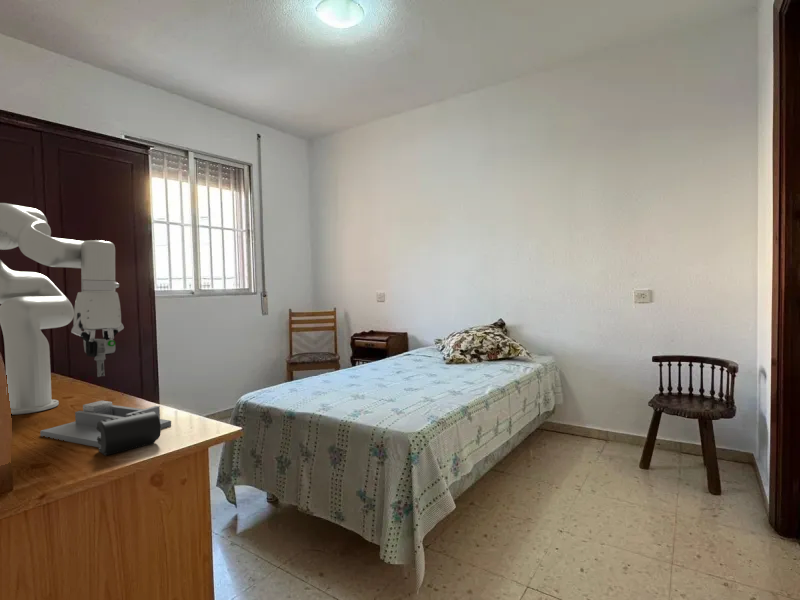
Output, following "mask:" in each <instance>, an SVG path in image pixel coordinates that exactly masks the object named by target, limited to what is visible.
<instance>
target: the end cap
mask: <svg viewBox="0 0 800 600" xmlns="http://www.w3.org/2000/svg"><path fill="white" fill-rule="evenodd" d="M96 429H97V430H98V431H99V432H101V436H98V438H97V440H98V444H100V445H101V448H99V447H98V452H99V453H101V454H102V455H103V456H109V455H114V454H117V453H120V452H124V451H128V450H133V449H136V448H140V447H144V446H147V445H152V444H155V442H156V441H157V440H159V438H160V436H161V431H162V429H161V425H160V420H159V417H158V415H157V413H156V412H154V411H153V412H149V413H144V412H139V413H136V414H134V413H133V414H131V415H130V417H125V418H120V419H115V418H110V419H107V420H102V421H99V422H98V423H97V428H96Z"/></svg>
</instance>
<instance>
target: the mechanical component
mask: <svg viewBox="0 0 800 600" xmlns="http://www.w3.org/2000/svg"><path fill="white" fill-rule="evenodd" d="M82 340H83V339H82ZM94 342H97V356H96V357H94V361H96V369H97V370H96V374H97V378H100V377H105V376H106V375H105V360H106V359H107V358H106V355H105V354H108V353H111V354H114V353H115V352H116V341H115V340H114V339H113V340H106V339H103V338H95V340H94ZM83 349H84V353H85V354H86V355H87V353H86V341H84V340H83Z"/></svg>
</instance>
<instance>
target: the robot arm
mask: <svg viewBox="0 0 800 600" xmlns="http://www.w3.org/2000/svg"><path fill="white" fill-rule="evenodd" d="M51 235H52V230H51V227H50V224H48V219H47V217H46V215H45V214H44V213H43V212H42V211H41V210H39V209H37V208H34V207H29V206H24V205H18V204H14V203H13V204H12V203H7V202H0V250H1V251H2V250H3V251H4V250H5V251H6V250H12V249H15V248H17V247H18V248H19V250H20V252H21V253H22V254H23V255H24V256H25V257H27V258H29V259H31V260H33V261H35V262H36V263H39V264H41V265H43V266H46V267H51V268H71V269H80V270H81V273H80V275H81V276H80V279H81V280H80V281H81V291H79V292H77V295H76V296H75V297H76V298H75V302H74V306H73V304H72V302H71V301H70V300H69V298H68V297H67V295H65V294H64V293H63V292H62V290H60V289H59V288H58V287H57V285H55V283H54V282H53V281H52V280H51V279H50V278H49V277H48V276H46V275H44V274H42V273H39V272H36V271H26V270H25V271H23V270H22V271H19V270H13V269H11V268H9V267H8V266H7V265H6V264H5V263H4V262H3V260H1V259H0V327H1V331H2V335H3V344H4V359H5V360H4V361H5V376H6V375H7V384H8V393H9V401H10V408H11V413H12V415H24V414H25V415H26V414H31V413H37V412H42V411H46V410H50V409H54V408H56V407H58V406H59V403H60V402H59V400H57V399H52V379H51V378H52V375H51V374H52V373H51V357H50V356H51V351H50V343H49V341H48V339H47V337H46V336H45V335H44V333H43V332H42V330H46V329H47V330H48V329H57V328H61V327H65V326H67V325H69V324H70V323H71V322H72V321H73V325H72V328H71V331H70V332H71V334H74V335H76V336H79V337H80V338H81V339H82V340H84V341H86V353H87V354H86V353H85V354H86V356H87V357H92V358H95V357H96V356H97V342H94V340H95V339H96V330H98V331H99V330H102V339H106V340H114V339H115V337H116V336H117V334H118V333H120V332H121V331H122V330H124V328H125V327H124V324H123V323H122V311H121V310H122V309H121V302H120V297H119V293H118V292H117V291H116V289H117V288H119V287H120V283H118V282H117V281H116V247H115V246H116V245H115V244H114V243H113V242H111V241H107V240H106V241H105V240H99V239H98V240H97V239H95V240H92V239H90V240H76V239H70V238H61V237H53V236H51ZM84 341H83V342H84ZM110 355H112V353H108V354H105V356H110ZM12 415H11V416H12Z"/></svg>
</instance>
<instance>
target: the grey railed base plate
mask: <svg viewBox="0 0 800 600" xmlns="http://www.w3.org/2000/svg"><path fill="white" fill-rule="evenodd" d="M160 410H161V409H160V405H154V406H151V407H147V408H137V407H130V406H123V405H115V404H112V411H113V415H107V414H100V413H93V412H86V411H83V410H78V411H75V412H74V414H75V415H74V416H75V421H72V422H69V423H64V424H61V425H57V426H53V427H49V428H44V429H42V430H40V434H39V435H40V437H43V436H45V437H44V438H48V437H50V438H49V439H53V438H54V439H55V440H58V439H59V441H63V440H64V441H63V442H69V443H74V444H79V445H85V446H90V447H95V448H98V449H99V448H101V445H100V444H98V440H97V438H98V436H101V432H99V431H98V430H97V429H96V428H97V423H98V422H99V421H102V420H107V419H110V418H115V419H120V418H125V417H130V415H131V414H133V413H134V414H136V413H139V412H144V413H149V412H153V411H154V412H156V413H157V415H158V417H159V420H160V425H161V430H162V429H165V428H169V427H171V426H172V420H169V419H162V418H161V412H160Z"/></svg>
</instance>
